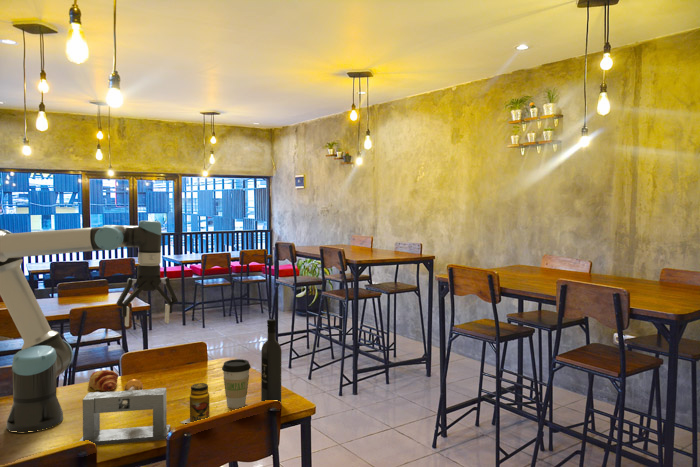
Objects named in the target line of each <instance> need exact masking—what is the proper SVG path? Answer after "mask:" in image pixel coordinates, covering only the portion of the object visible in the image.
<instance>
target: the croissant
mask: <svg viewBox="0 0 700 467" xmlns="http://www.w3.org/2000/svg"><path fill="white" fill-rule="evenodd" d="M118 378H119V375H118V374H117V373H116V371H114V370H108V369H103V370H96V371H93V372H92V373H91V375H90V377H89V381H88V387H90V388H92V390H97V391H101V392H111V391H113V390H114V389H115V390H116V386H117V385H118Z"/></svg>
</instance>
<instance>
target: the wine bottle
mask: <svg viewBox="0 0 700 467" xmlns="http://www.w3.org/2000/svg"><path fill="white" fill-rule="evenodd" d="M276 322H277V319H273V318H271V319H267V321H266V323H267V324H266V326H267V339H266V341H264V343H263V344H262V346H261V350H260V351H261V353H260V354H261V355H260V356H261V357H260V359H261V360H260V361H261V369H260V372H261V373H260V378H261V379H260V380H261V381H260V382H261V384H260V387H261V388H260V390H261V391H260V393H261V394H260V397H261V398H260V400H261V401H265V400H278V401H280V402H281V403H282V356H283V355H282V354H283V353H282V351H283V350H282V347H281V345H280V343H279V342H278V341H277V340H276V326H277V323H276ZM261 401H260V402H261Z"/></svg>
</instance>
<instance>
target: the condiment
mask: <svg viewBox="0 0 700 467" xmlns="http://www.w3.org/2000/svg"><path fill="white" fill-rule="evenodd" d="M208 417H209V418H210V392H209V385H208V384H207V383H204V382H200V383H198V382H197V383H194V384H192V385H191V386H190V395H189V418H187V419H184V420H183V421H180V422H179V423H181V424H185V423H190V422H194V421H197V420H201V419H205V418H208ZM185 425H186V424H185Z"/></svg>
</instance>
